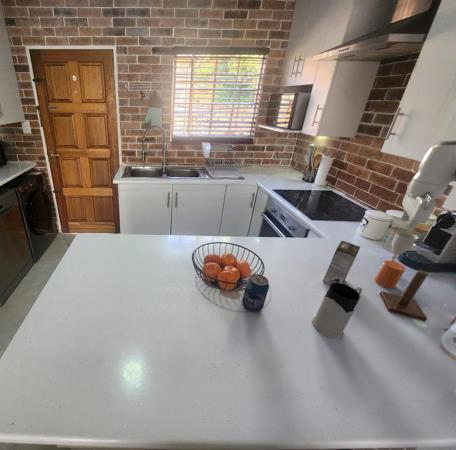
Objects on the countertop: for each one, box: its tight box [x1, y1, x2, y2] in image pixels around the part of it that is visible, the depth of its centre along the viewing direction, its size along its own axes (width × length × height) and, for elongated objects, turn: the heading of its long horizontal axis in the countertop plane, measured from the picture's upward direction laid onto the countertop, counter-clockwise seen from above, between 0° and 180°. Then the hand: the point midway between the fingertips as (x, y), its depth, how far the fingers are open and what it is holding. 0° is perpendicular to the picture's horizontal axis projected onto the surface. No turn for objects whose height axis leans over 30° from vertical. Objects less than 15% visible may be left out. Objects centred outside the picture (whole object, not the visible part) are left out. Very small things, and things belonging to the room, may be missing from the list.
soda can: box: [241, 273, 270, 314], centre depth 84 cm, size 7×7×12 cm
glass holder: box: [311, 283, 363, 339], centre depth 78 cm, size 9×14×15 cm, turn 113°
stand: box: [379, 269, 429, 322], centre depth 86 cm, size 10×10×16 cm
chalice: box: [379, 229, 419, 269], centre depth 105 cm, size 7×7×18 cm
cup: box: [373, 260, 407, 289], centre depth 99 cm, size 6×6×9 cm
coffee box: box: [322, 240, 361, 286], centre depth 98 cm, size 9×6×16 cm
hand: (406, 224), depth 92 cm, fingers open, 8 cm apart
